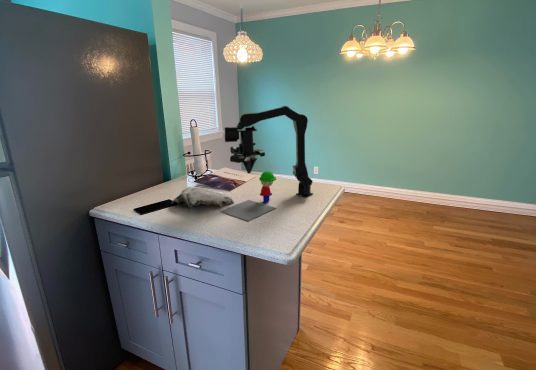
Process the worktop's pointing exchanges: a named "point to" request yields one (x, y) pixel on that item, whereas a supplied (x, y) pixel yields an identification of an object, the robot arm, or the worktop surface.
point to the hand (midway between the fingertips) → (249, 173)
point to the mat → (248, 210)
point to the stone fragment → (202, 197)
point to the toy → (266, 185)
